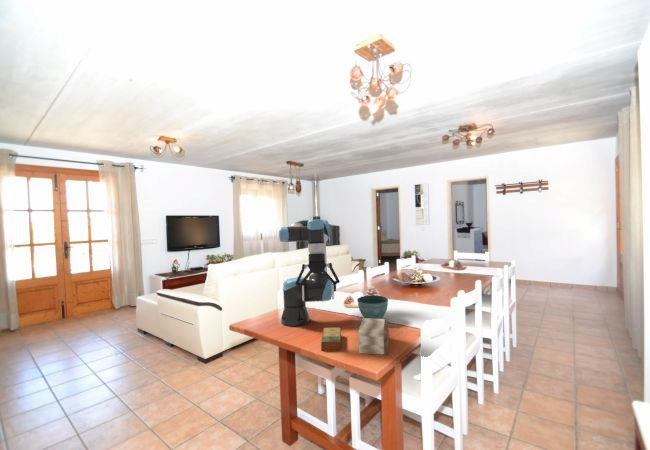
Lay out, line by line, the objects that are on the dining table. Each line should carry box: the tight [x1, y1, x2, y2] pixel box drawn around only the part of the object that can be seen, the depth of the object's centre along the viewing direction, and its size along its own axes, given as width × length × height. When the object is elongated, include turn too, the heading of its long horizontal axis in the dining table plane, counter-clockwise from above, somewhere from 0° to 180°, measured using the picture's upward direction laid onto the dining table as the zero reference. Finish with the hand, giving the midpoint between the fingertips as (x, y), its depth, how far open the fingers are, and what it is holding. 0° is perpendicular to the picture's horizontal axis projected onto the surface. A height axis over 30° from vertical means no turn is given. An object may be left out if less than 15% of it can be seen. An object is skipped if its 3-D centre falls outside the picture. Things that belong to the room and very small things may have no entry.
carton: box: [320, 327, 342, 352], centre depth 133 cm, size 8×16×4 cm, turn 177°
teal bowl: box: [357, 294, 389, 319], centre depth 161 cm, size 16×16×11 cm
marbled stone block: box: [357, 317, 390, 356], centre depth 128 cm, size 12×17×8 cm
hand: (318, 299), depth 138 cm, fingers open, 13 cm apart
